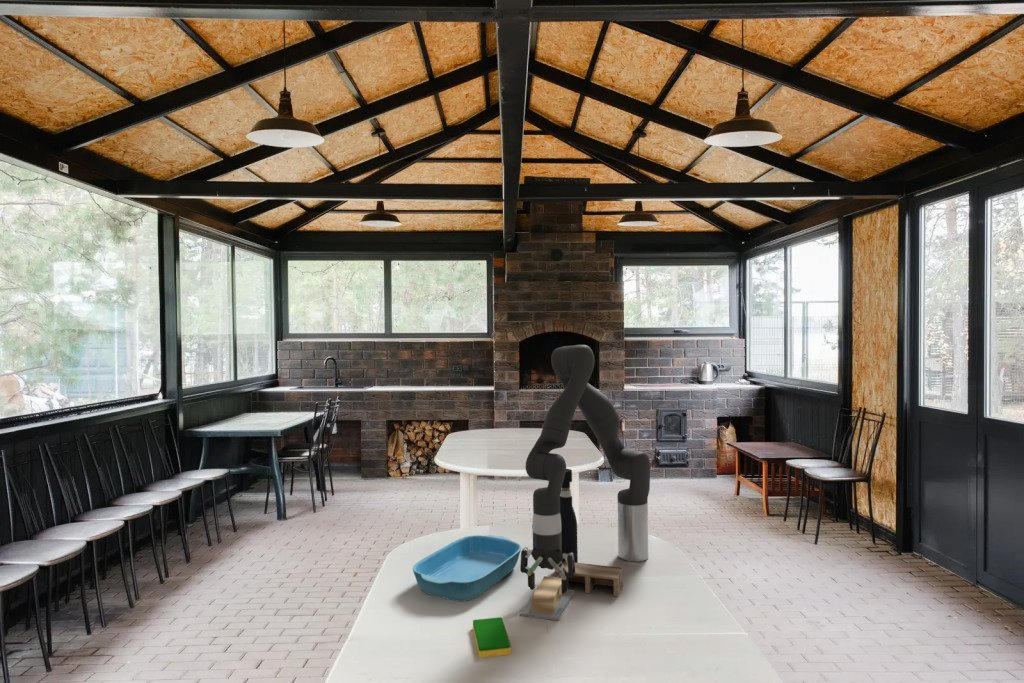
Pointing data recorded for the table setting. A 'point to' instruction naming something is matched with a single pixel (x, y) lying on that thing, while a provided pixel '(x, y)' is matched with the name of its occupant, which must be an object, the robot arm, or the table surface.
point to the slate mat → (556, 616)
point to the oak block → (547, 595)
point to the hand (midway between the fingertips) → (548, 590)
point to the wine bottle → (568, 518)
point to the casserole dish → (467, 566)
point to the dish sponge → (491, 637)
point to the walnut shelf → (597, 576)
